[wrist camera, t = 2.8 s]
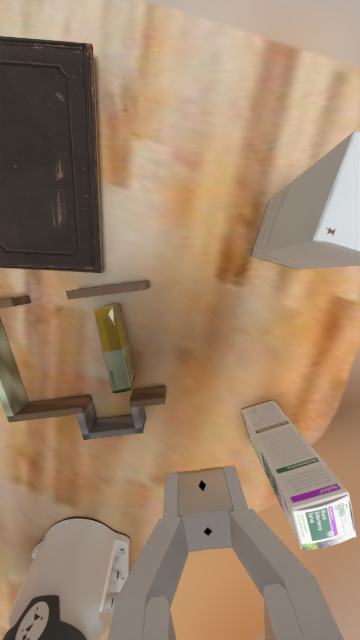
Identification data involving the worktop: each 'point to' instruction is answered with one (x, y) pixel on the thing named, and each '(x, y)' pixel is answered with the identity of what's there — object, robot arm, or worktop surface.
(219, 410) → the worktop surface
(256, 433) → the syrup box
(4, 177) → the hardcover book
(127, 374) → the medication box
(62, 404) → the trap corral
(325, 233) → the supplement box
